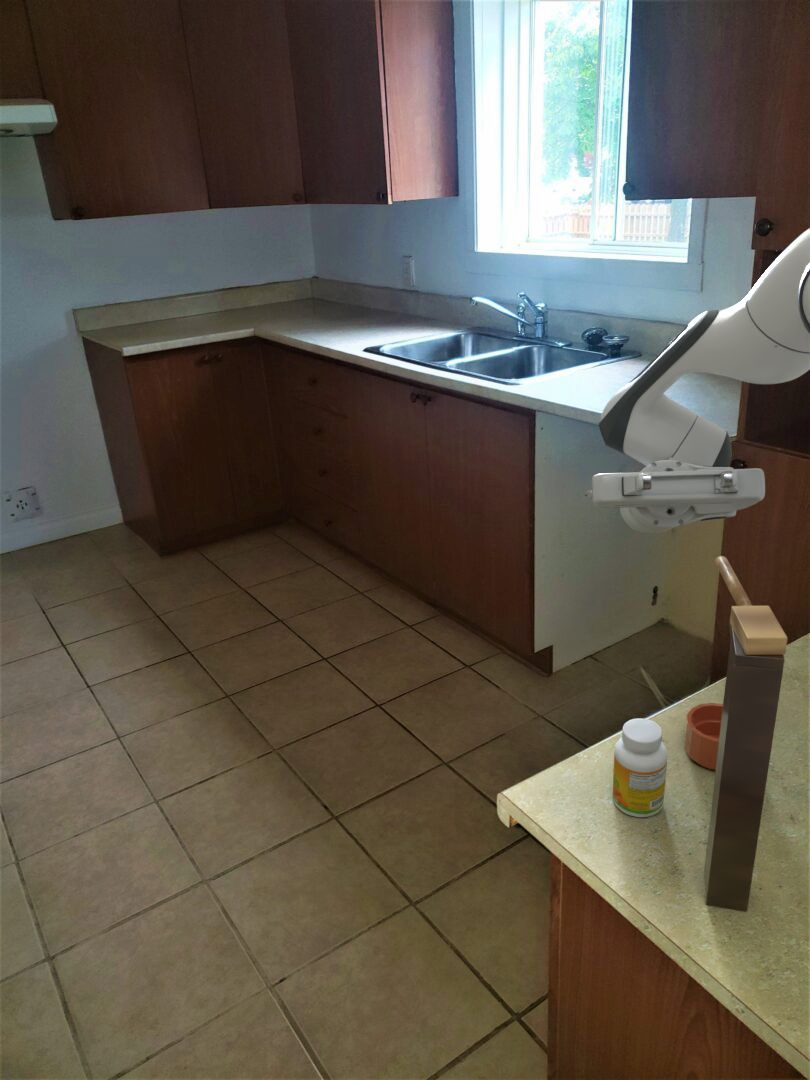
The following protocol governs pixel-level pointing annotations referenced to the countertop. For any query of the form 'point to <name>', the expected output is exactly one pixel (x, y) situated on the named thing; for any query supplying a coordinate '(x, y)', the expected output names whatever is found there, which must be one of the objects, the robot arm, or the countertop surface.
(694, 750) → the bowl
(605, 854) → the countertop surface
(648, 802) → the supplement bottle
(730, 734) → the tall brown pillar
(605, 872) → the countertop surface
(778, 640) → the tan wooden mallet
